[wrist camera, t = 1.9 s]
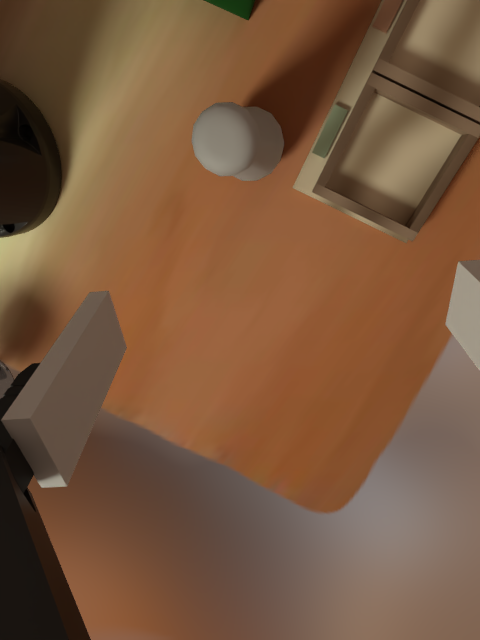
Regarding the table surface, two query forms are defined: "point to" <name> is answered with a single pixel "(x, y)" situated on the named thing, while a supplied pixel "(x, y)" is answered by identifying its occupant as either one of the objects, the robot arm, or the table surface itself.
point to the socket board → (401, 116)
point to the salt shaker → (237, 141)
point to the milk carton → (235, 6)
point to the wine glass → (5, 379)
